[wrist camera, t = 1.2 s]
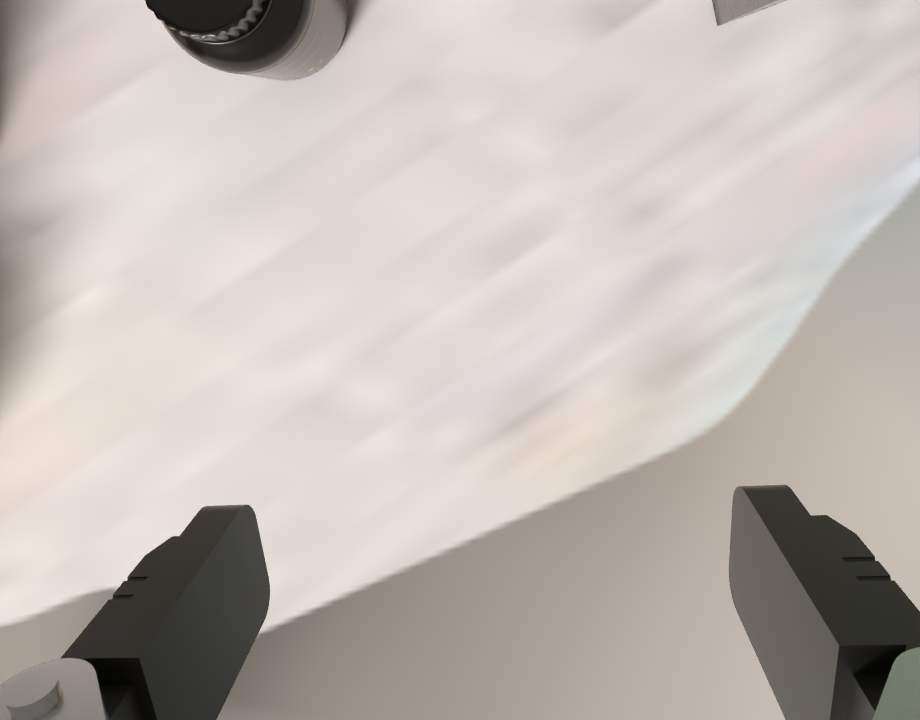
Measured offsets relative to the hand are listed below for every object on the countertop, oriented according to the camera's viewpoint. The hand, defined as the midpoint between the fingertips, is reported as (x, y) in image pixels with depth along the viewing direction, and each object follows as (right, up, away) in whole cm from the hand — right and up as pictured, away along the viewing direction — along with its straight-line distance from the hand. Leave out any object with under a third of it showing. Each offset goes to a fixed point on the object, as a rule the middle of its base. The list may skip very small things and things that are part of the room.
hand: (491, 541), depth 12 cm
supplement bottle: (-10, +21, +25) cm, 34 cm away
